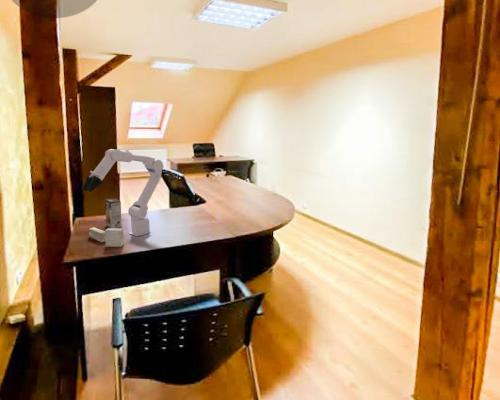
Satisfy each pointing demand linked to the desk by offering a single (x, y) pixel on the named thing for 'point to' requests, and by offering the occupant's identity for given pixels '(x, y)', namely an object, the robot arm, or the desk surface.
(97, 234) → the beige block
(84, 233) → the desk surface
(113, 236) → the medicine box
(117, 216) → the coffee box
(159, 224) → the desk surface
